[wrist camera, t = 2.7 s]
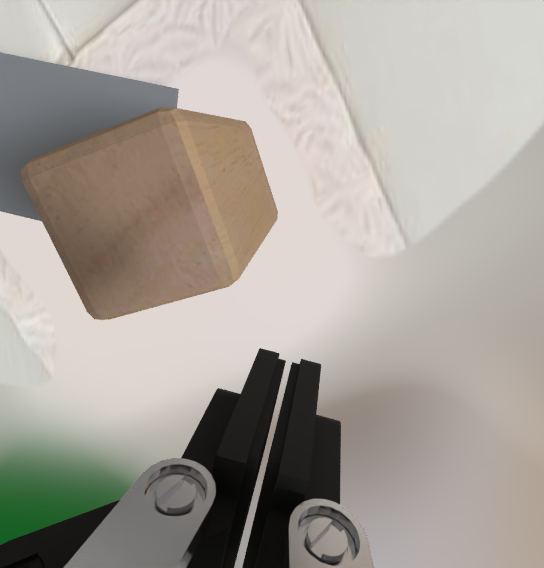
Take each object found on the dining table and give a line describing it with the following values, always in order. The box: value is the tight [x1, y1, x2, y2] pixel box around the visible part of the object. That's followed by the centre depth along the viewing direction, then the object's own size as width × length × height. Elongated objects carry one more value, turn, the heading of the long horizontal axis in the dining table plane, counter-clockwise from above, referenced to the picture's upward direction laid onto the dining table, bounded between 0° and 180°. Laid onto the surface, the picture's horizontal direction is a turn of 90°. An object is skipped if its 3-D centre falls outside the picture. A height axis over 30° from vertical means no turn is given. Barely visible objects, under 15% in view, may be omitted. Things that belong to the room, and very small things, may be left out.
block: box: [21, 107, 278, 320], centre depth 31 cm, size 10×10×20 cm
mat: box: [0, 53, 179, 221], centre depth 42 cm, size 20×16×1 cm
